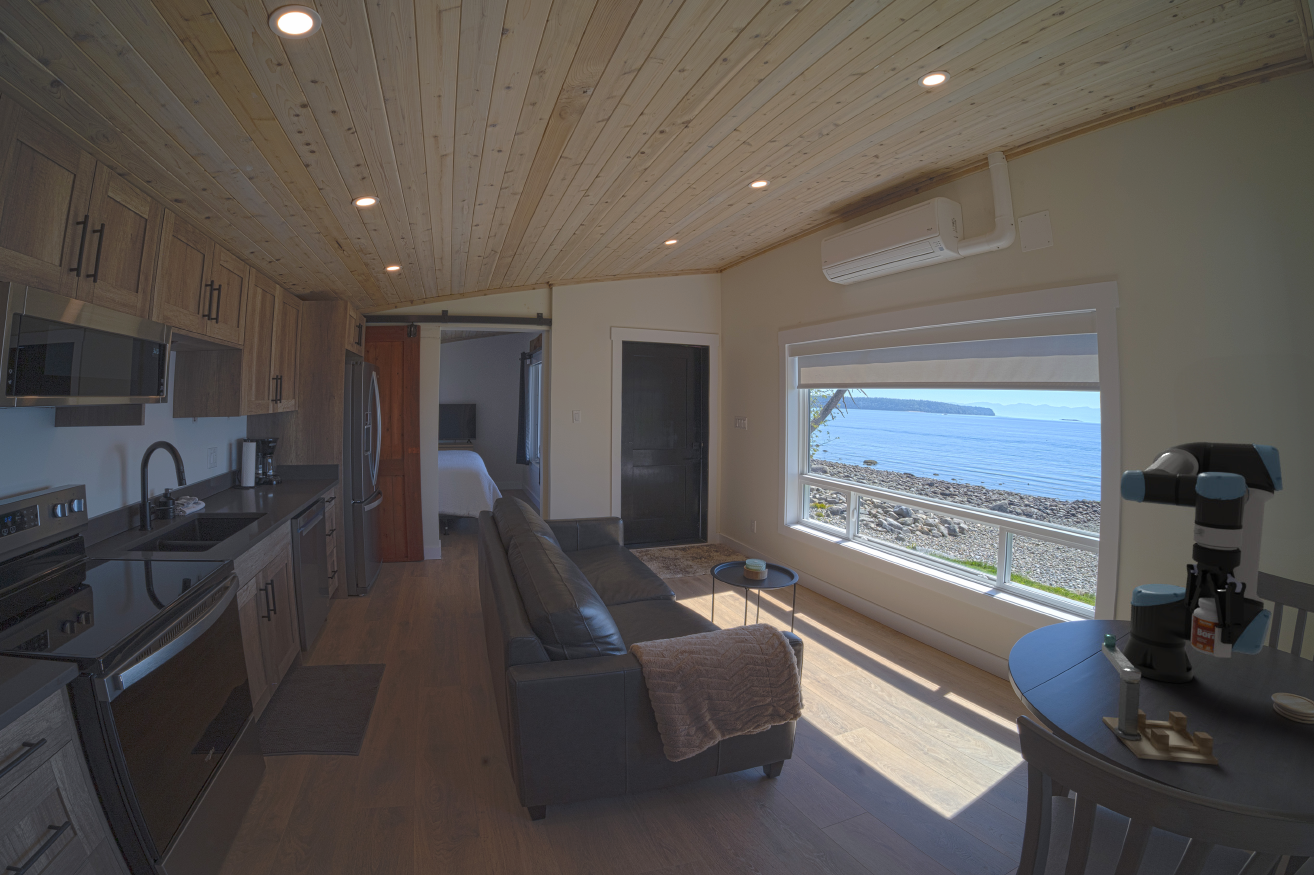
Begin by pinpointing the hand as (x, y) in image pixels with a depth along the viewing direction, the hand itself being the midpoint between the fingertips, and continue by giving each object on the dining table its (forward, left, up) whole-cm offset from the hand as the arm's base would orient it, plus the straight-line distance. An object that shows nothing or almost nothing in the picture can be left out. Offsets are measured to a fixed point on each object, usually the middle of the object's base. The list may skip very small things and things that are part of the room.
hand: (1210, 649), depth 129 cm
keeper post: (+16, +2, -21) cm, 26 cm away
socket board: (+10, +2, -21) cm, 23 cm away
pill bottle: (0, 0, -1) cm, 1 cm away
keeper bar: (+15, -4, -7) cm, 17 cm away
